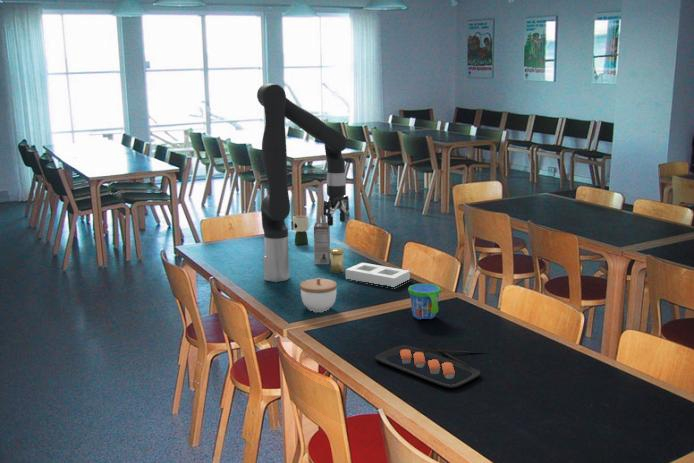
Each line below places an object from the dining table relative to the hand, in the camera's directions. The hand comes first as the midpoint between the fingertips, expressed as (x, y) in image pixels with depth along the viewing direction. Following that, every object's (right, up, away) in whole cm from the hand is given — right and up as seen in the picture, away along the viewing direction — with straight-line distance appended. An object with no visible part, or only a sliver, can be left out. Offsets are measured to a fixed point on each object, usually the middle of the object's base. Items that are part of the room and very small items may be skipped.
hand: (336, 223), depth 291 cm
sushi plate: (+32, -41, -83) cm, 98 cm away
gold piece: (0, -19, +4) cm, 20 cm away
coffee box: (-6, -16, +19) cm, 26 cm away
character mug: (-17, -9, +49) cm, 53 cm away
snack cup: (+30, -32, -48) cm, 65 cm away
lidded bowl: (-6, -30, -40) cm, 50 cm away
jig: (+16, -22, -7) cm, 28 cm away
